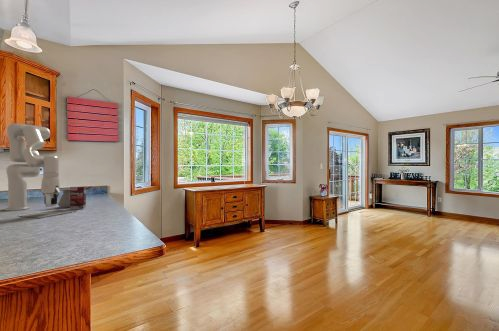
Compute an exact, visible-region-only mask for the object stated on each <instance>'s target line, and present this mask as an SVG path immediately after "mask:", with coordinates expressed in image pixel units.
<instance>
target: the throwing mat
mask: <svg viewBox="0 0 499 331" xmlns="http://www.w3.org/2000/svg"><path fill="white" fill-rule="evenodd" d="M72 212H73V213H77V211H76V210H67V209H66V210H64V209H50V210H46V211H45V210H44V211H39V212H33V213H27V214H19V215H17V216H18V218H19V217H20V218H30V219H45V217H46V218H51V217H56V216H60V215H61V216H62V215H67V214H73V213H72Z"/></svg>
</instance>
